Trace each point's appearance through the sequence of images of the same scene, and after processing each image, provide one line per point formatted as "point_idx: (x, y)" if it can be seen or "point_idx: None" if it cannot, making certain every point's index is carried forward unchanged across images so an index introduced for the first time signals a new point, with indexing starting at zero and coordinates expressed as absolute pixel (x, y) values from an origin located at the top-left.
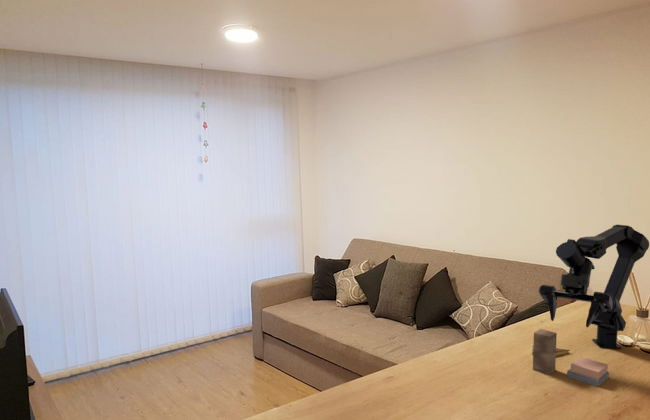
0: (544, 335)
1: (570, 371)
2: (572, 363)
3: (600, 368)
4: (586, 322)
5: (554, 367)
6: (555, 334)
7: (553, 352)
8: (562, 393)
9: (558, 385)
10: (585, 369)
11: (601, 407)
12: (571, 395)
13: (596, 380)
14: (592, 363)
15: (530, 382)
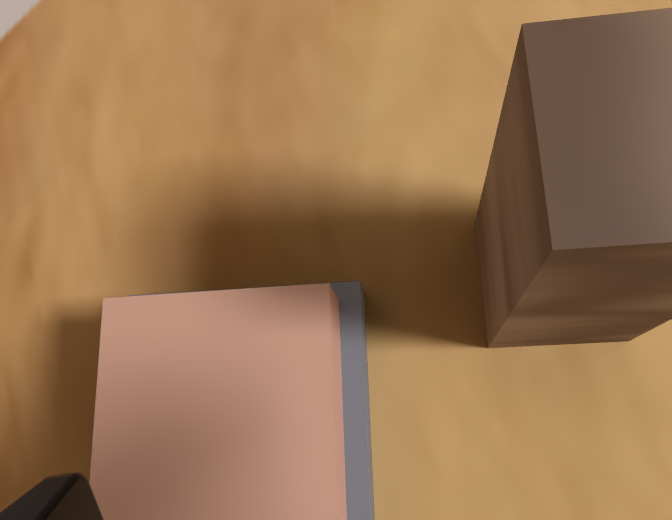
0: (604, 17)
1: (340, 300)
2: (324, 303)
3: (110, 391)
4: (40, 517)
5: (488, 324)
6: (543, 212)
7: (504, 252)
8: (276, 43)
9: (341, 119)
10: (207, 292)
11: (61, 61)
12: (228, 61)
13: (140, 295)
14: (194, 450)
15: (487, 19)
